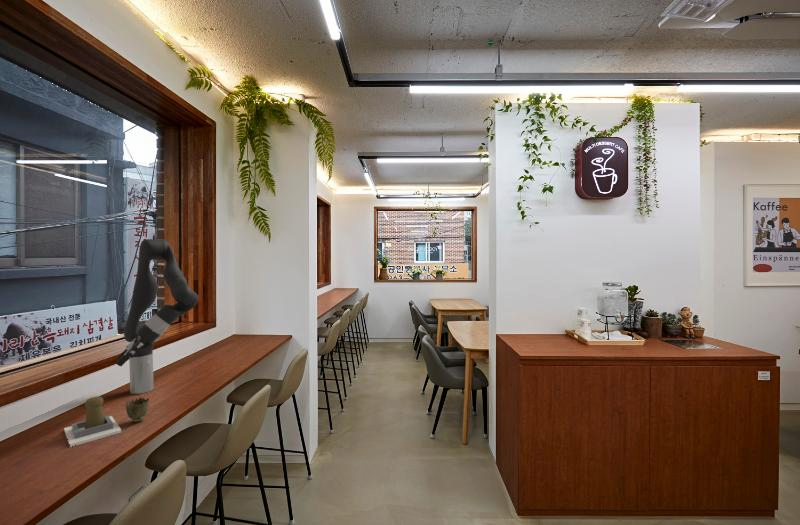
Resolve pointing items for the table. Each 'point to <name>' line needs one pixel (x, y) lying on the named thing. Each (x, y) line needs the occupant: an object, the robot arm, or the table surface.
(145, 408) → the cup
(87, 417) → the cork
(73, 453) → the table surface
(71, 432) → the socket board
